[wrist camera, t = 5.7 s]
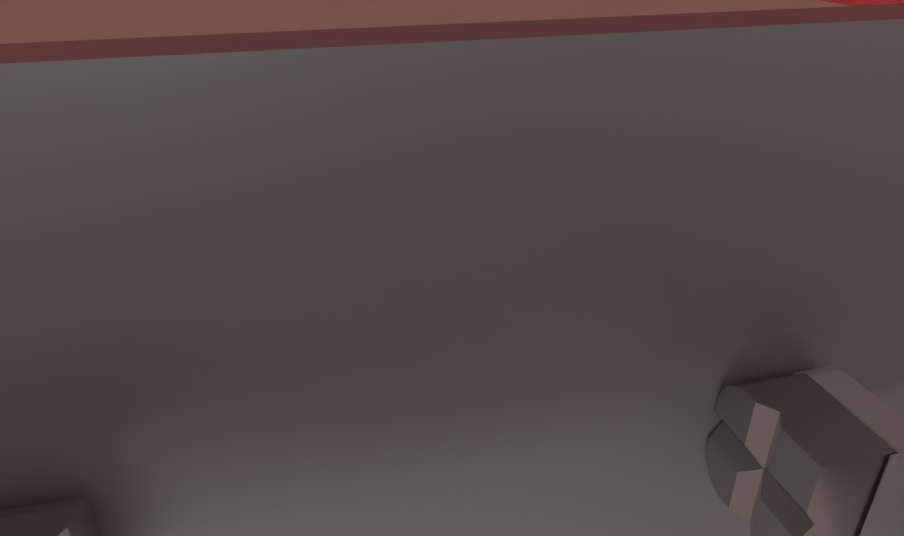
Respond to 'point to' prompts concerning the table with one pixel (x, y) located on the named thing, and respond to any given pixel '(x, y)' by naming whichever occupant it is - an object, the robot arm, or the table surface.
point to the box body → (316, 14)
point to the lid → (437, 266)
